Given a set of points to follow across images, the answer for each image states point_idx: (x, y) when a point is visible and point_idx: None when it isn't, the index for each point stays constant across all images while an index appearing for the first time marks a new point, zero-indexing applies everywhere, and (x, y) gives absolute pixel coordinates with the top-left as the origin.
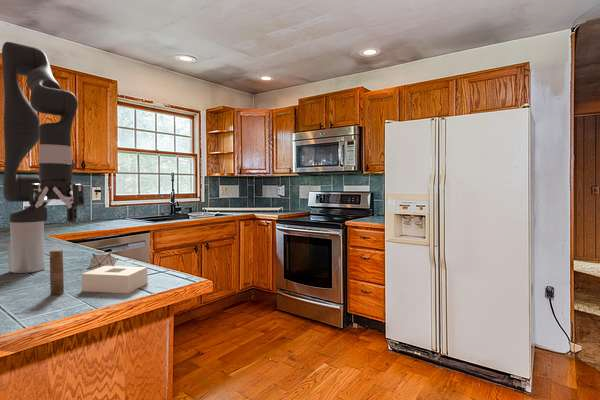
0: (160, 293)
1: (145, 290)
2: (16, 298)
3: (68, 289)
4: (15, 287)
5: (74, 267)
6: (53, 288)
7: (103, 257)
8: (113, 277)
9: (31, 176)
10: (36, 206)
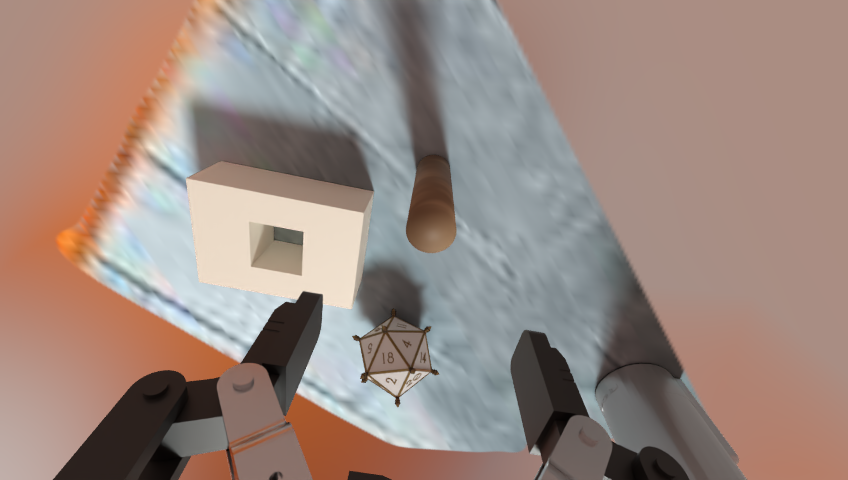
0: (122, 153)
1: None
2: (532, 134)
3: None
4: (591, 242)
5: None
6: (434, 160)
7: (380, 360)
8: (246, 186)
9: None
10: (593, 427)
